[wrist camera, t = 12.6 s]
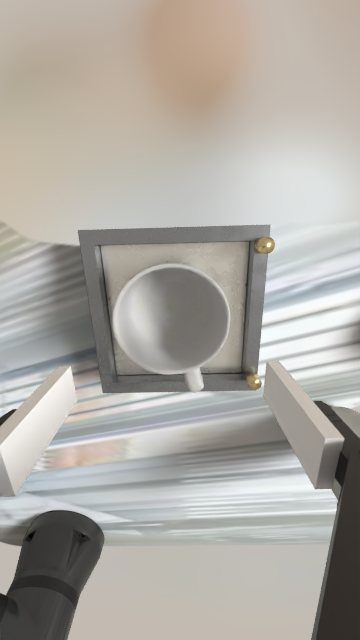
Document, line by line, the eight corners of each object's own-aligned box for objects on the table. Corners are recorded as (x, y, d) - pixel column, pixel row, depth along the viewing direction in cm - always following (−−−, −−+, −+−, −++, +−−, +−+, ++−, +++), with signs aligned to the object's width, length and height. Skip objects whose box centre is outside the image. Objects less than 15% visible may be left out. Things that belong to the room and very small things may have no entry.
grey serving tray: (114, 371, 36) (98, 400, 30) (95, 232, 30) (70, 229, 23) (245, 368, 36) (260, 398, 29) (255, 227, 30) (276, 223, 23)
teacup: (121, 264, 28) (98, 273, 20) (214, 251, 27) (227, 255, 19) (143, 368, 32) (131, 409, 24) (224, 359, 31) (237, 397, 24)
